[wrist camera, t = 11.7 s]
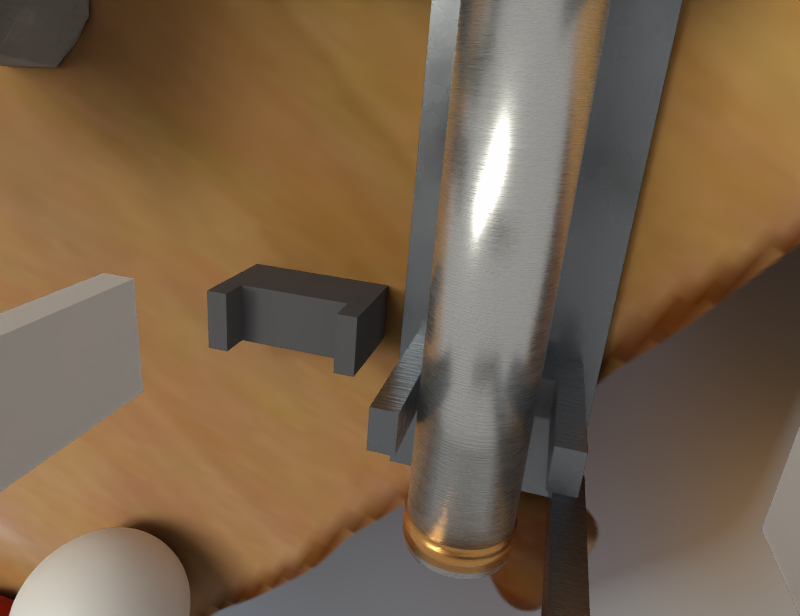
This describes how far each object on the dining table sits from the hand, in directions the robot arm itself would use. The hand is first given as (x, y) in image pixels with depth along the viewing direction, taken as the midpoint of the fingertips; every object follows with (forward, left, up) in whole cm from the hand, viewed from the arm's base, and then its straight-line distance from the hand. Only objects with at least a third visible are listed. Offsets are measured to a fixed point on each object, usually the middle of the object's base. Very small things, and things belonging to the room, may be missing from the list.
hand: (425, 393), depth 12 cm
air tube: (0, +1, -15) cm, 15 cm away
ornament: (+28, -22, -19) cm, 40 cm away
